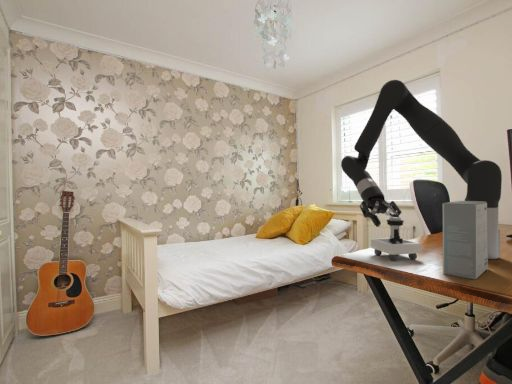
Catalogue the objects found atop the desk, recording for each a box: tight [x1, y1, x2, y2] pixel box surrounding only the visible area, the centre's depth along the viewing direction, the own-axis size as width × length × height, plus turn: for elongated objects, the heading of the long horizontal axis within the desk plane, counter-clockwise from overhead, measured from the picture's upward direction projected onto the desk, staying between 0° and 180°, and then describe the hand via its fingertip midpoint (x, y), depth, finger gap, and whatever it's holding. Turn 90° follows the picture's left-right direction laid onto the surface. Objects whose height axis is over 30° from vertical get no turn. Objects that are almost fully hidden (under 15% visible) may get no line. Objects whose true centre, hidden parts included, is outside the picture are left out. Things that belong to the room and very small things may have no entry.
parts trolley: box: [370, 237, 422, 262], centre depth 96 cm, size 11×11×6 cm
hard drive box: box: [442, 200, 489, 280], centre depth 79 cm, size 16×8×20 cm, turn 131°
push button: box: [386, 216, 405, 244], centre depth 97 cm, size 7×5×10 cm
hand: (389, 225), depth 98 cm, fingers open, 8 cm apart
